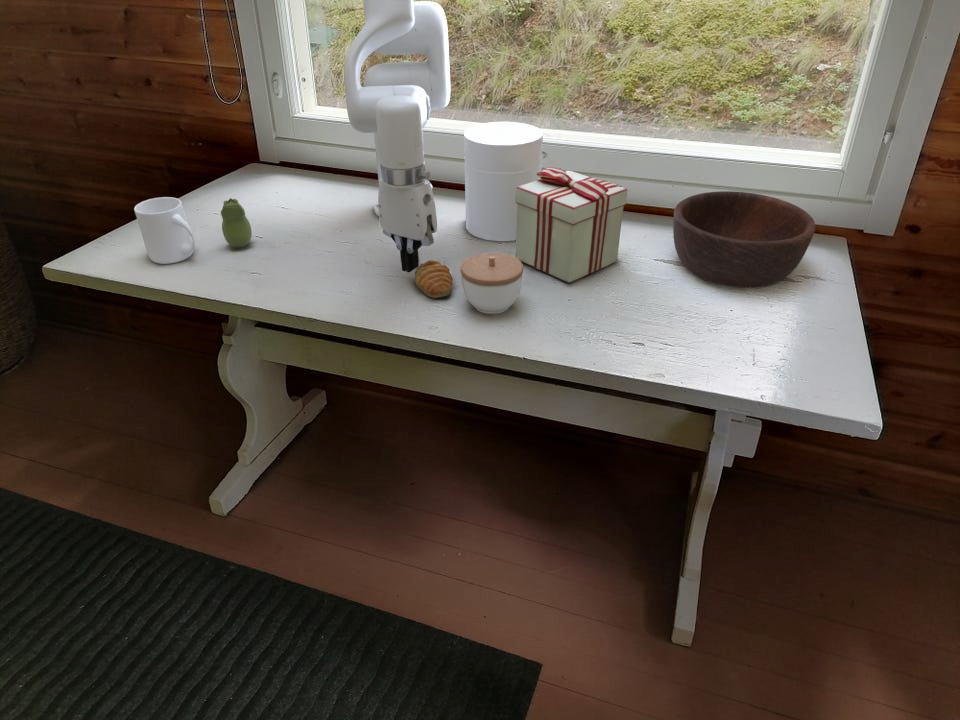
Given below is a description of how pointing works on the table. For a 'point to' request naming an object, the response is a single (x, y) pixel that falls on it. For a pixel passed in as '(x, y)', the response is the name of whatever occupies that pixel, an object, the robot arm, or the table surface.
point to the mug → (165, 230)
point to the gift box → (568, 223)
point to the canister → (498, 175)
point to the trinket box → (492, 281)
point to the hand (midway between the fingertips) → (410, 268)
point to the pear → (235, 224)
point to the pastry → (434, 279)
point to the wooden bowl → (740, 237)
